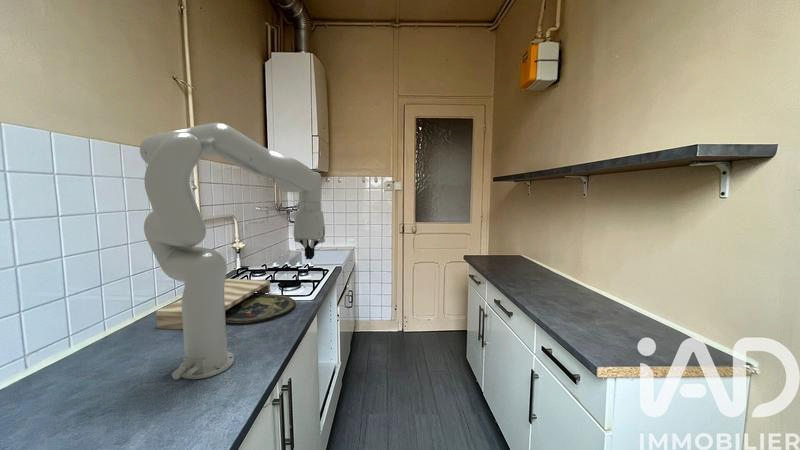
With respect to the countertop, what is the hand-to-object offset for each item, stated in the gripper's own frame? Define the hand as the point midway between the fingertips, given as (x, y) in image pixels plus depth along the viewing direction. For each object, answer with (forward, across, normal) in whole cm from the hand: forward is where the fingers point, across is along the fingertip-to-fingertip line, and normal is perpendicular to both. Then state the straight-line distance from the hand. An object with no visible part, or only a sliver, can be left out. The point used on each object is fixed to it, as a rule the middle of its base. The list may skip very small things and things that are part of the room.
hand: (309, 258), depth 116 cm
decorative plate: (+23, -24, +8) cm, 34 cm away
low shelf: (+23, -37, +8) cm, 44 cm away
